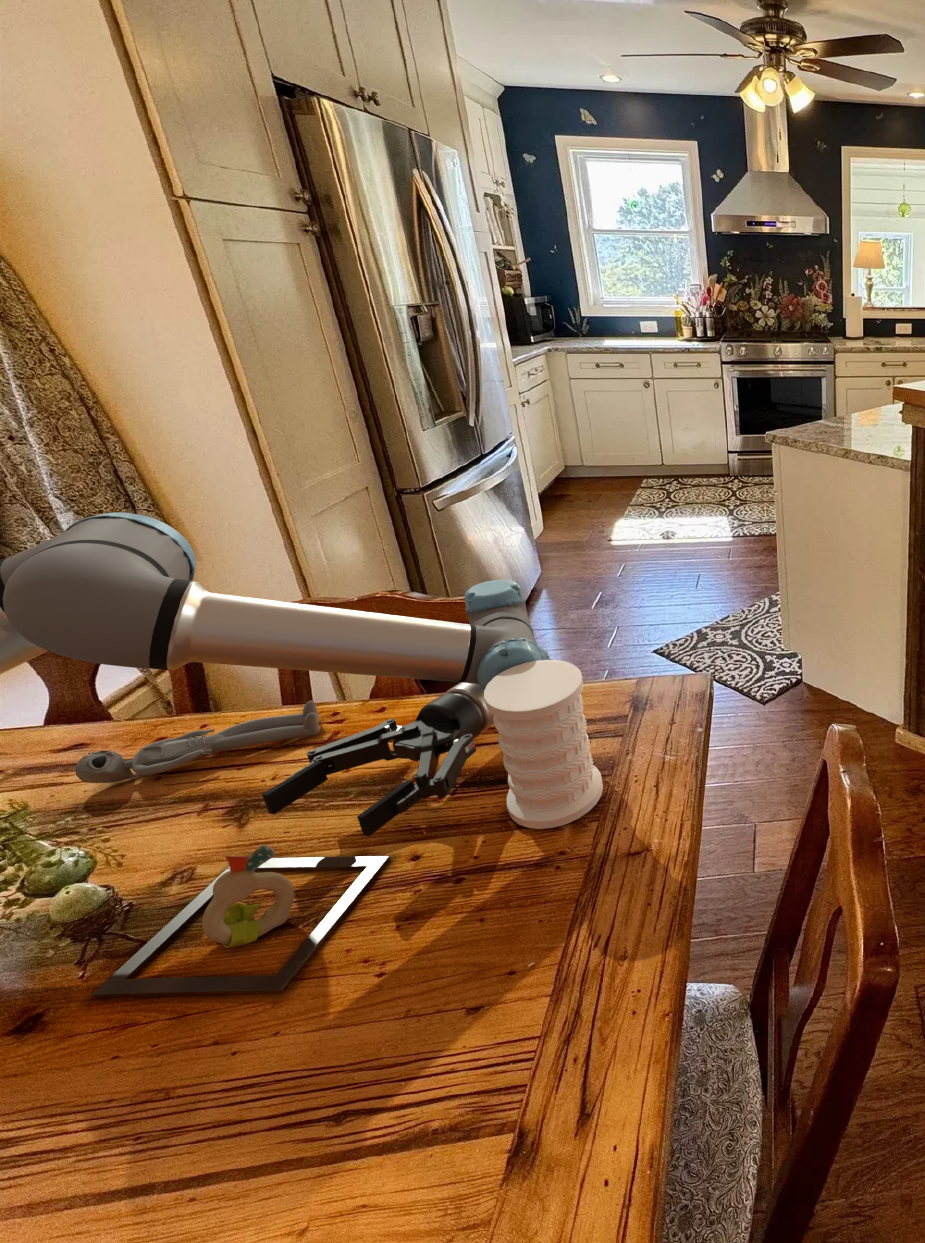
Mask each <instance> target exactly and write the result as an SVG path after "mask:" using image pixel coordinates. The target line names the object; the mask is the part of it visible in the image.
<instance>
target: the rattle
mask: <svg viewBox="0 0 925 1243" xmlns="http://www.w3.org/2000/svg"><path fill="white" fill-rule="evenodd" d="M275 855H276V853H275V850H274V848H272V846H270V845H267V844H262V845H259V846H258V847H256V848H255V849H254V850H253V852H252V853H251V854H250V855H249V856H248V855H225V856H224V858H225V859H226V861H227V864H228V867H229V866H230V871H228V872H226V873H225V874H223V875H222V876H221V877H220V878H218V880H217V881H216V882H215V884H214V886H213V896H214V897H213V899H212V900H211V902H210V903H209V904H208V905H207V906H206V907H205V910H204V913H203V914H202V920H201V927H202V930H203V933H204V934H205V936H206V938H208V939H209V940H211V941H213V942H215V943H218V944H222V945H223V946H224V948H226V949H229V948H235V947H240V946H246V945H248V944H251V943H253V942H256V941H257V939H258V938H260V937H261V936H264V935H265V934H267V933H268V932H270V931H271V930H273V929H275V928H279V927H280V926H282V925H284V924H285V923H286V922H287V921H288V919H289V917H290V910H291V908H292V906H293V904H294V901H295V888H294V885H293V883H292V882H291V880H290V879H288V878H287V877H286V876H285V875H283V874H282V873H279V872H276V871H261V872H256V871H255V870H256V869H257V868H258V867H259V866H260V865H262V864H263V863H265V862H266V861H268V860H269V859H271V858H275ZM263 890H264V891H271V892H272V893H274V895H275V900H274V903H273V904H272V905H271V906H270V907H268V908H267V909H266V910H265V911H264V913H263V914H262V916H261V917H260V918H258V919H254V917H255V914H256V913H257V911H258V910H259V908H260V905H259V903H253V904H247V903H245V902H242V901H243V900H245V899H247V898H248V897H250V896H251V895H252V894H253V893H254V892H256V891H263Z"/></svg>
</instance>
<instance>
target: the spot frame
mask: <svg viewBox="0 0 925 1243" xmlns="http://www.w3.org/2000/svg"><path fill="white" fill-rule="evenodd" d="M389 861H391V856H390V855H374V856H373V855H366V856H365V855H364V856H361V855H360V856H307V857H306V856H304V857H303V856H299V857H298V856H297V857H272V858H271V859H269V860H268V861H266V862H265V863H263V864H262V865H260V866H259V867H258V868H257V869H256V870H255V871H254V872H290V871H292V872H295V871H296V872H297V871H345V870H346V871H347V870H348V871H349V870H352V871H353V870H363V871H362V872H360V874H359V875H358V876H357V878H356V879H355V880H354V881H353V882H352V884H351V885H350V886H349V887H348V889H347V890H345V892H344V893H343V894H342V895H341V897H340V898H339V900H338V901H337V902H336V903H335V904H334V905H333V906H332V907H331V909H329V911H328V912H327V913H326V914H325V916H324V917H323V918H322V920H321V921H320V922H319V923H318V924H317V926H316V927H315V928H314V929H313V930H312V931H311V933H310V934H309V935H308V936H307V937H306V939H305V940H304V941H303V942H302V943H301V945H300V946H299V947H298V948H297V949H296V951H294V953H293V954H292V956H291V957H290V958H289V959H288V960H287V961H286V963H285V964H284V965H283V966H282V968H280V970H279V971H278V972H277V973H276V974H269V975H267V974H266V975H231V976H227V975H226V976H189V977H188V976H187V977H153V978H152V977H150V978H149V977H148V978H146V977H145V978H133V977H134V976H135V975H136V974H138V972H139V971H140V970H141V969H142V968H144V967H145V965H147V964H148V962H150V961H151V960H152V959H153V958H154V957H155V956H156V955H157V954H158V953H159V952H160V951H161V950H162V949H163V948H165V947H166V945H168V943H170V942H171V941H172V940H173V939H174V938H175V937H176V936H177V935H178V934H179V933H180V932H181V931H182V930H184V928H185V927H186V926H188V924H189V923H191V922H192V921H193V920H194V919H195V918H196V917H197V916H198V915H199V914H200V913H201V912H202V911H203V910H204V909H206V908H207V907H208V905H209V903H210V902H211V900H212V899H213V897H214V896H213V886H214V884H215V882H216V881H217V880H218V878H220V877H221V876H222V875H223V874H225V873H226V872H228V871H230V866H229V865H228V867H227V868H226V869H225V870H223V872H222V873H220V874H219V875H218V876H217V877H216V878H215V879H214V880H213V881H211V883H210V884H209V885H207V887H205V888H204V889H203V890H202V891H201V892H200V893H199V894H198V895H197V896H195V898H193V899H192V900H191V902H189V903H188V904H187V905H186V906H185V907H184V908H182V910H181V911H179V913H177V914H176V915H175V916H174V917H172V919H171V920H170V921H169V922H168V923H167V924H165V925H164V927H162V928H161V929H160V930H159V931H158V932H157V933H156V934H155V935H154V936H153V937H152V938H151V939H150V940H148V941H147V942H146V943H145V944H144V945H143V946H141V948H140V949H139V950H137V951H136V953H134V954H133V955H132V956H131V957H130V958H129V959H128V960H127V961H126V962H125V963H124V964H123V965H121V966H120V968H119V969H117V970H116V971H115V972H114V973H112V975H110V976H109V977H108V979H106V980H105V982H103V983H102V984H101V985H100V986H99V987H98V988H97V989H96V990H94V991H93V992H92V994H91V996H92V998H94V999H96V998H97V999H102V998H103V999H104V998H105V999H106V998H138V997H141V998H142V997H144V998H145V997H176V996H216V995H217V996H219V995H249V994H251V995H253V994H254V995H255V994H257V995H258V994H283V992H284V991H286V989H287V988H288V986H289V985H290V984H291V983H292V981H293V980H294V979H295V978H296V977H297V975H298V974H299V973H300V972H301V970H302V969H303V968H304V967H305V966H306V965H307V963H308V962H309V961H310V960H311V958H312V957H313V956H314V954H315V953H316V952H317V951H318V949H319V948H320V947H321V946H322V945H323V943H325V940H327V938H328V937H329V936H330V935H331V934H332V932H333V931H334V930H335V928H336V927H337V926H338V925H339V924H340V922H341V921H342V920H343V919H344V917H345V916H346V915H347V914H348V912H349V911H350V910H351V908H353V906H354V905H355V904H356V903H357V901H358V900H359V899H360V898H361V897H362V895H363V894H364V893H365V892H366V890H367V889H368V887H369V886H370V885H371V884H372V882H373V881H374V880H375V879H376V877H377V876H378V875H379V874H380V873H381V871H383V869H384V868H385V866H386V865H387V864H388V863H389Z"/></svg>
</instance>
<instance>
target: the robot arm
mask: <svg viewBox="0 0 925 1243" xmlns="http://www.w3.org/2000/svg"><path fill="white" fill-rule="evenodd" d="M196 568H197V560H196V555H195V551H194V550H193V548H192V546H191V544H190V543H189V542H188V540H187V538H185V537H184V536H183V535H182V534H181V533H180V532H179V531H178V530H176V529H175V528H173V527H172V526H171V525H168V524H167V523H165V522H163V521H161V520H159V519H156V518H154V517H151V516H147V515H143V514H137V513H132V512H119V511H118V512H106V513H100V514H96V515H93V516H88V517H85V518H82V519H80V520H77V521H74V522H73V523H71V524H70V525H69V526H68V527H67V528H66V529H65V530H64V531H63V532H61V533H60V534H58V535H56V536H53V537H52V538H49V539H47V540H45V541H43V542H40V543H39V544H36V545H34V546H31V547H29V548H27V549H25V550H23V551H21V552H18V553H16V554H14V555H12V556H10V557H9V556H8V557H7V558H5V559H3V560H1V561H0V675H2V674H4V673H6V672H8V671H10V670H12V669H14V668H17V667H18V666H20V665H22V664H25V663H28V662H29V661H31V660H33V659H35V658H37V657H39V656H41V655H43V654H46V653H48V652H49V653H53V654H56V655H57V656H62V657H65V658H69V659H71V660H72V659H73V660H77V661H81V662H86V663H92V664H98V665H105V666H115V667H123V668H133V669H134V668H135V669H145V670H146V669H147V670H161V671H162V670H163V671H175V670H177V669H179V668H181V667H183V666H185V665H187V664H190V663H199V664H200V663H202V664H215V665H228V666H241V667H255V668H267V669H269V668H270V669H281V670H294V671H309V672H320V673H321V672H322V673H335V674H347V675H348V674H349V675H361V676H371V677H372V676H373V677H388V678H390V677H391V678H402V679H414V680H426V681H427V680H428V681H439V682H440V681H441V682H452V683H458V684H456V685H454V686H453V687H451V688H450V689H448V690H447V691H445V693H443V694H441V695H439V696H437V697H436V698H434V699H433V700H431V701H430V702H429V703H426V704H425V705H424V706H423V707H421V708H420V710H419V712H418V714H417V716H416V718H415V719H414V721H412V722H410V723H407V724H404V725H400V724H399V725H398V724H397V720H396V719H395V718H389V719H387V720H384V721H383V722H381V723H379V724H378V725H375V726H373V727H370V728H368V729H365V730H362V731H360V732H357V733H354V734H352V735H349V736H345V737H343V738H340V739H338V740H335V741H332V742H329V743H327V744H323V745H321V746H319V747H316V748H313V749H311V750H309V751H307V752H306V756H307V759H308V762H309V764H307V765H306V766H304V767H302V768H301V769H299V770H298V771H296V772H295V773H293V774H291V775H289V776H288V777H287V778H286V779H285V780H283V781H281V782H280V783H278V784H276V785H275V786H273V787H272V788H270V789H268V790H267V791H265V792H264V793H262V794H261V796H262V799H263V801H264V804H265V807H266V809H267V811H268V814H269V815H270V814H271V815H276V814H277V813H279V812H280V811H283V809H286V808H287V807H288V806H290V805H292V804H293V803H294V802H295V801H297V800H299V799H301V798H302V797H304V796H305V795H306V794H308V793H310V792H311V791H312V790H314V789H316V788H318V787H319V786H320V785H322V784H323V783H325V782H326V781H328V779H329V778H328V776H329V775H333V774H336V773H339V772H344V771H346V770H350V769H354V768H357V767H361V766H363V765H367V764H372V763H374V762H378V761H381V760H385V761H387V762H388V761H389V762H390V761H392V760H393V761H394V760H396V759H402V760H405V759H407V760H410V761H413V762H418V766H417V771H416V775H413V777H414V781H415V784H414V781H413V780H411V779H407V780H405V781H403V782H402V783H401V784H399V785H398V786H397V787H396V788H393V790H391V791H390V792H389V793H387V794H386V795H384V796H383V797H382V798H380V799H378V800H377V801H376V802H375V803H373V804H372V805H371V806H369V807H368V808H366V809H365V810H363V811H362V812H361V813H359V814H358V815H357V816H356V818H357V822H358V823H359V826H360V829H361V832H362V835H363V836H364V837H367V838H369V837H371V836H372V835H374V833H376V832H377V831H379V830H380V829H382V828H383V827H384V826H385V825H386V824H388V823H389V822H391V821H392V820H393V819H394V818H396V817H397V816H398V815H401V814H403V813H405V812H407V811H408V810H409V809H410V808H412V807H413V806H415V805H417V804H418V802H420V801H421V800H424V799H425V800H426V799H428V798H430V797H431V796H436V797H437V798H438V799H443V798H446V797H447V796H448V795H449V794H450V792H451V790H452V789H453V787H454V785H455V782H456V781H457V779H458V777H459V775H460V773H461V771H462V770H463V768H464V766H465V763H466V762H467V760H468V759H469V758H470V757H472V756H473V755H474V754H475V753H476V752H477V747H476V743H475V739H476V738H478V737H479V736H480V735H481V734H482V733H484V732H485V731H487V730H488V729H489V728H490V727H492V726H494V722H493V718H494V715H493V714H492V713H490V712H489V710H488V708H487V707H486V704H485V700H484V690H485V688H486V686H487V684H488V683H489V682H490V681H491V680H492V679H493V678H494V677H495V676H497V675H498V674H500V673H501V672H503V671H505V670H507V669H509V668H512V667H514V666H517V665H520V664H523V663H527V662H532V661H538V660H553V659H551V658H550V656H549V652H548V651H547V650H546V649H545V648H544V647H542V646H541V645H539V644H537V641H536V638H535V634H534V630H533V627H532V624H531V621H530V618H529V615H528V611H527V610H528V609H527V604H526V602H527V601H526V598H525V597H524V593H523V589H522V586H521V585H520V584H519V583H518V582H516V581H515V580H510V579H493V580H487V581H483V582H480V583H477V584H474V585H472V586H471V587H469V588H468V589H467V590H466V592H465V593H464V604H465V613H466V614H467V619H468V623H469V624H468V623H461V622H454V621H444V620H437V619H429V618H421V617H413V616H412V617H411V616H404V615H396V614H387V613H381V612H380V613H379V612H372V611H364V610H355V609H346V608H339V607H330V606H323V605H315V604H306V603H298V602H289V601H282V600H273V599H265V598H257V597H250V596H249V597H248V596H243V595H241V596H240V595H234V594H227V593H226V594H225V593H218V592H217V593H216V592H211V591H208V590H206V589H205V588H204V587H203V586H202V584H201V583H199V581H196V580H194V579H195V572H196ZM391 743H392V748H393V750H391V748H390V745H389V744H391ZM446 753H447V754H446ZM443 754H446V755H445V757H444V759H443V760H442V763H441V764H440V766H439V760H440V757H441V755H443ZM437 767H439V768H438V770H437Z"/></svg>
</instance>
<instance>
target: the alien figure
mask: <svg viewBox="0 0 925 1243" xmlns="http://www.w3.org/2000/svg"><path fill="white" fill-rule="evenodd" d="M319 718H320V716H319V713H318V708H317V704H316V702H315V701H314V700H309V701H307V702H306V703H305V705H304V706H303V708H302V713H295V714H284V715H275V716H267V717H260V718H255V719H252V720H251V719H250V720H246V721H243V722H241V723H237V724H234V725H232V726H229V727H227V728H224V729H222V730H221V731H218V732H217V733H215V731H216V730H215V728H214V729H199V730H193V731H189V732H186V733H185V734H182V735H180V736H177V737H171V738H166V739H162V740H161V739H160V740H158V741H154V742H151V743H148V744H146V745H144V746H143V747H141V749H139V751H137V753H135V755H134V756H133V757H132V759H128V760H125V759H124V757H123V756H122V754H121V753H118V752H117V751H115V750H113V751H112V750H106V749H105V750H97V751H92V752H91V751H88V752H87V754H86V755H83V756H82V757H81V758H80V759H79V760H78V761H77V762H76V764H75V768H74V770H75V771H74V772H75V776H76V777H77V778H78V779H79V780H80V781H81V782H84V783H88V784H111V783H119V782H122V781H126V780H130V779H135V778H137V777H140V776H141V777H142V776H146V777H147V776H154V775H157V774H161V773H164V772H167V771H170V770H172V769H175V768H178V767H181V766H183V765H185V764H188V763H192V762H194V761H197V760H200V759H203V758H205V757H208V756H211V755H212V754H215V753H218V752H226V751H231V750H237V749H242V748H247V747H253V746H259V745H264V744H269V743H275V742H281V741H288V740H293V739H295V740H296V739H300V738H309V737H313V736H315V735H317V734H319V733H320V731H321V727H320V725H319ZM208 733H214V734H209V735H208ZM133 772H134V773H135V774H133Z"/></svg>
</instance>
